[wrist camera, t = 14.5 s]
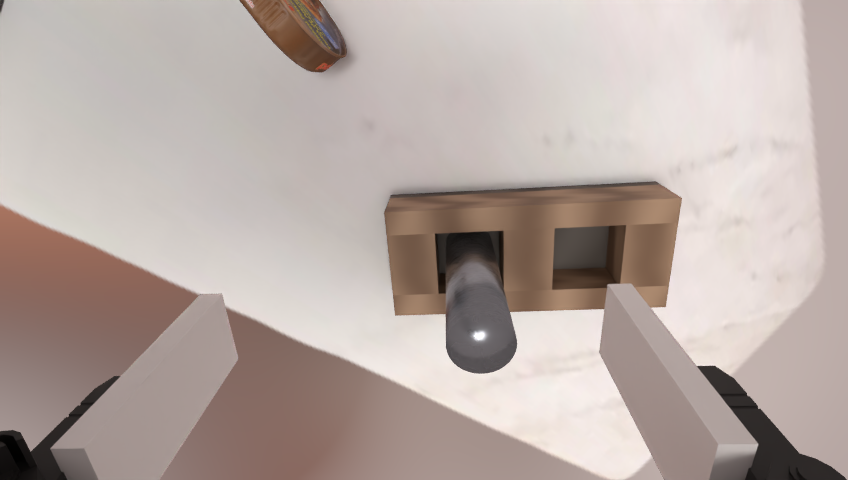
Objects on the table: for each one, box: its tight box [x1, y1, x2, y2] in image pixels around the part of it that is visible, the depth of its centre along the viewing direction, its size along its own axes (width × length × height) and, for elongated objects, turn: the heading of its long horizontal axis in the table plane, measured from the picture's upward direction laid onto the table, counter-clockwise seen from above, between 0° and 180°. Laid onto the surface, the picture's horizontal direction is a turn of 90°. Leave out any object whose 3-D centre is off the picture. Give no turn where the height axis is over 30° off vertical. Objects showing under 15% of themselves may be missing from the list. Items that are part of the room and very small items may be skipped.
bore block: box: [384, 182, 682, 315], centre depth 42 cm, size 24×10×5 cm, turn 94°
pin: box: [446, 231, 517, 373], centre depth 36 cm, size 4×4×16 cm
